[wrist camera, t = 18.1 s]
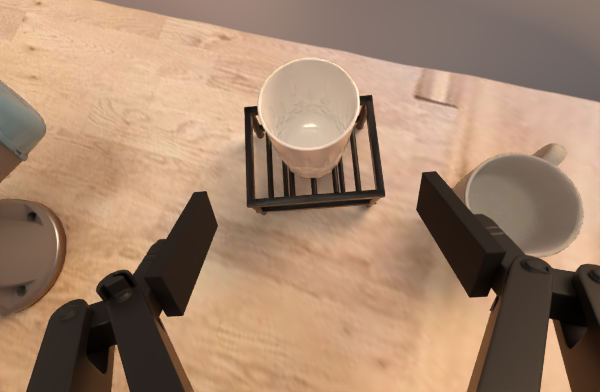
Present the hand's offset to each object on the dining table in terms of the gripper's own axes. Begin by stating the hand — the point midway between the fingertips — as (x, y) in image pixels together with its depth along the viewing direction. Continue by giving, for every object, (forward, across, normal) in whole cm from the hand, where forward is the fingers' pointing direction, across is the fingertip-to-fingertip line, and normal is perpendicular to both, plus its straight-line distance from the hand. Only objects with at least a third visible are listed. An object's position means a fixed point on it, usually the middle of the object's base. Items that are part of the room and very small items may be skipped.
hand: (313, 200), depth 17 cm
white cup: (+15, 0, -3) cm, 15 cm away
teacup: (+15, +22, -13) cm, 30 cm away
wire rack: (+20, 0, -8) cm, 21 cm away
